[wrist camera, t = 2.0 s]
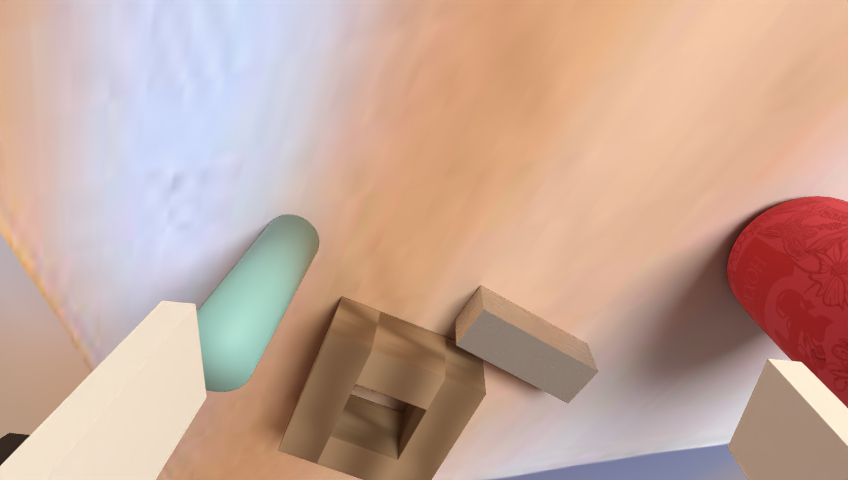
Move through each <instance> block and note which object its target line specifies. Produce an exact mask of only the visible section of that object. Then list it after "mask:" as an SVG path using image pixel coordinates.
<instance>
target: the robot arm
mask: <svg viewBox="0 0 848 480" xmlns="http://www.w3.org/2000/svg"><path fill="white" fill-rule="evenodd" d="M206 398H207V397H206V388H205V380H204V371H203V363H202V355H201V346H200V338H199V329H198V321H197V312H196V304H193V303H182V302H172V301H161V302H160V303H159V304H158V305H157V306H156V307H155V308H154V309H153V310H152V311H151V313H150V314H149V315H148V316H147V317H146V318H145V319H144V320H143V321H142V322H141V323H140V324H139V325H138V326H137V327H136V328H135V329H134V330H133V331H132V332H131V333H130V334H129V335H128V336H127V337H126V338H125V339H124V340H123V341H122V342H121V343H120V344H119V345H118V346H117V347H116V348H115V349H114V350H113V351H112V352H111V353H110V354H109V355H108V356H107V357H106V358H105V359H104V361H103V362H102V363H101V364H100V365H99V366H98V367H97V368H96V369H95V370H94V371H93V372H92V373H91V374H90V375H89V376H88V377H87V378H86V379H85V380H84V381H83V382H82V383H81V384H80V385H79V386H78V387H77V388H76V389H75V390H74V391H73V392H72V393H71V394H70V395H69V396H68V397H67V398H66V399H65V400H64V401H63V402H62V403H61V404H60V405H59V406H58V408H57V409H56V410H55V411H54V412H53V413H52V414H51V415H50V416H49V417H48V418H47V419H46V420H45V421H44V422H43V423H42V424H41V425H40V426H39V427H38V428H37V429H36V430H35V431H34V432H33V433H32V434H31V435H24V434H14V433H9V434H7V435H5V436H4V437H2V438H1V439H0V480H155V479H156V478H157V477H158V475H159V473H160V472H161V470H162V468H163V467H164V465H165V464H166V462H167V460H168V459H169V457H170V456H171V454H172V452H173V451H174V449H175V448H176V446H177V444H178V443H179V441H180V439H181V438H182V436H183V435H184V433H185V431H186V430H187V428H188V427H189V425H190V423H191V422H192V420H193V419H194V417H195V415H196V414H197V412H198V410H199V409H200V407H201V406H202V404H203V402H204V401H205V399H206ZM728 449H729V451H730V452H731V454H732V455H733V457H734V459H735V460H736V462H737V463H738V465H739V466H740V468H741V469H742V471H743V473H744V474H745V476H746V477H747V479H748V480H848V408H847V407H846V406H845V405H844V404H843V403H842V402H841V401H840V400H839V399H838V398H837V397H836V396H835V395H834V394H833V393H832V392H831V391H830V390H829V389H828V388H827V387H826V386H825V385H824V384H823V383H822V382H821V381H820V380H819V379H818V378H817V377H816V376H815V375H814V374H813V373H812V372H811V371H810V370H809V369H808V368H807V367H806V366H805V365H804V364H803V363H802V362H797V361H786V360H776V359H768V360H767V362H766V364H765V366H764V368H763V371H762V373H761V375H760V377H759V379H758V382H757V384H756V386H755V388H754V391H753V393H752V395H751V397H750V399H749V402H748V404H747V406H746V408H745V410H744V413H743V415H742V417H741V419H740V421H739V424H738V426H737V428H736V430H735V433H734V435H733V437H732V439H731V441H730V444H729V446H728Z"/></svg>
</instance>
